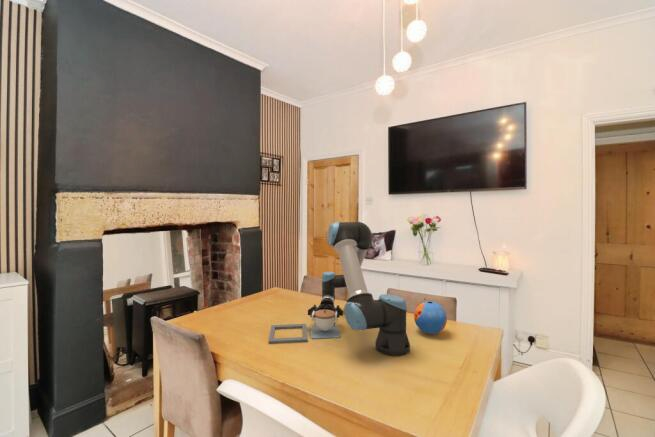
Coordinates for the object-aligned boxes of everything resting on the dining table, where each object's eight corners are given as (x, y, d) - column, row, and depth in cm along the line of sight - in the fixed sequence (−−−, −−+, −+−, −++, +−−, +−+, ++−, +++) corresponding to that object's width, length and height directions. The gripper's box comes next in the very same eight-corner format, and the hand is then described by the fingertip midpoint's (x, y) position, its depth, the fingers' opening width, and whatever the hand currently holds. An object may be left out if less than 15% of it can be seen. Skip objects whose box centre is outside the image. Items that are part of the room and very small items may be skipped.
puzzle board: (307, 342, 148) (307, 339, 148) (268, 343, 146) (268, 341, 146) (306, 325, 167) (306, 323, 167) (271, 327, 166) (271, 325, 165)
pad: (340, 337, 152) (340, 336, 152) (311, 339, 151) (311, 338, 151) (336, 326, 166) (336, 325, 166) (310, 327, 165) (310, 327, 165)
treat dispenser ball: (449, 340, 149) (449, 308, 148) (415, 337, 152) (415, 306, 151) (443, 328, 164) (444, 298, 164) (413, 325, 167) (413, 297, 167)
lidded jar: (336, 324, 163) (336, 306, 163) (334, 333, 153) (334, 313, 152) (315, 323, 164) (315, 306, 164) (312, 332, 154) (312, 313, 153)
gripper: (348, 311, 176) (348, 326, 154) (306, 310, 177) (300, 325, 155) (348, 297, 175) (348, 311, 153) (306, 297, 177) (300, 310, 155)
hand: (324, 318), depth 154 cm, fingers closed on lidded jar, 11 cm apart
